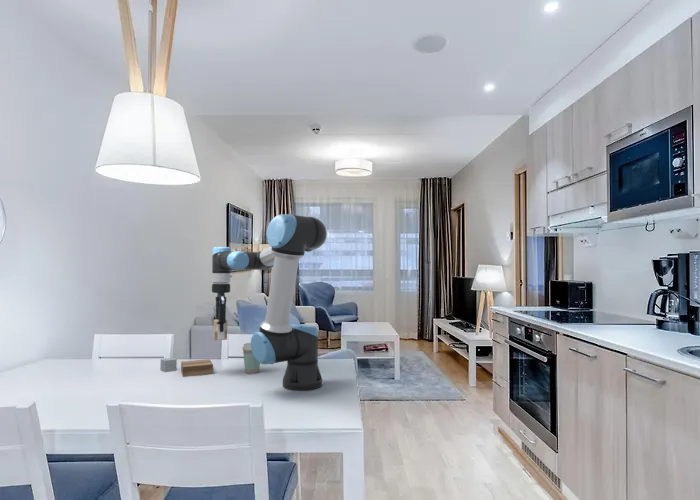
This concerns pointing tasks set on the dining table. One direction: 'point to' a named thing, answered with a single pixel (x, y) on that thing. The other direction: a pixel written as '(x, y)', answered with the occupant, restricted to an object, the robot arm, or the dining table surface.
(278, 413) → the dining table surface
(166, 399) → the dining table surface
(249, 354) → the coffee cup
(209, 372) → the walnut base slab
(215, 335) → the oak column block
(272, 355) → the robot arm
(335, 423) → the dining table surface
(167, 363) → the slate grey block
